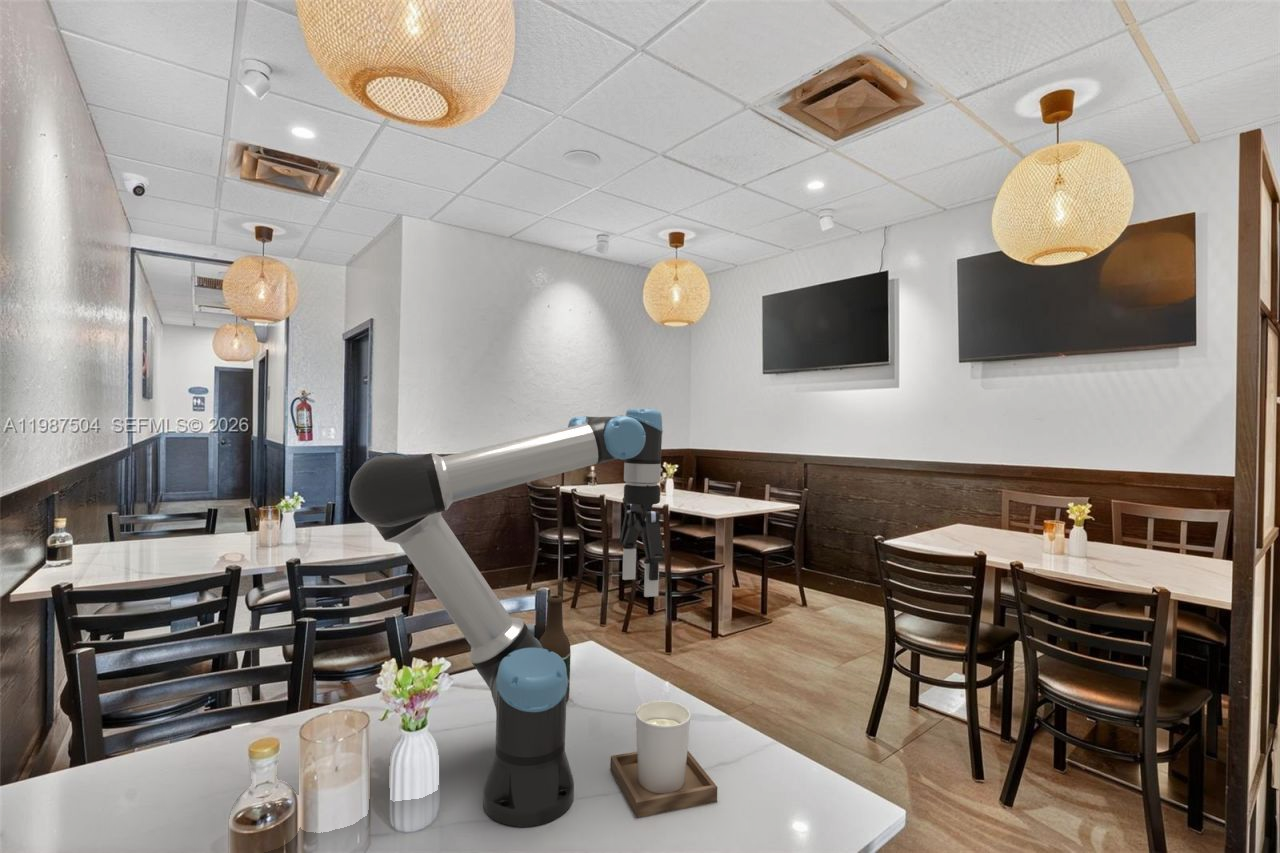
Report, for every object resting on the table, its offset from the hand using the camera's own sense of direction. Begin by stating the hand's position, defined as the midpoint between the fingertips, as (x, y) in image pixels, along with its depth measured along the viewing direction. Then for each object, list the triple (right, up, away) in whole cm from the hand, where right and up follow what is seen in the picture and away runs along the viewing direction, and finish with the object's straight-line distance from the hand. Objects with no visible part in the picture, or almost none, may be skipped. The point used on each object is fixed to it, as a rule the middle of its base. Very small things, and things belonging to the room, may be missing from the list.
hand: (639, 587), depth 123 cm
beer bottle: (-20, -31, +15) cm, 40 cm away
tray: (+4, -31, -17) cm, 35 cm away
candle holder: (+4, -30, -17) cm, 35 cm away
